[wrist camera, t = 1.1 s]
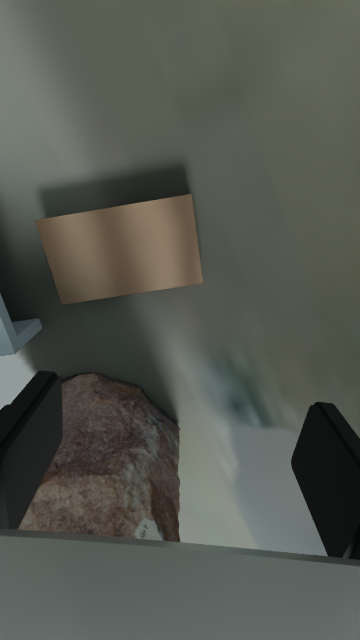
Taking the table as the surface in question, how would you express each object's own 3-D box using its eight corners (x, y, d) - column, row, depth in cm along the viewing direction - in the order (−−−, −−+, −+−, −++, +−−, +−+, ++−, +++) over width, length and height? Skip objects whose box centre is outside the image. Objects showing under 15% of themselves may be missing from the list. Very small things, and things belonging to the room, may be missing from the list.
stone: (193, 397, 37) (209, 601, 18) (165, 459, 40) (154, 682, 22) (41, 352, 34) (-122, 534, 16) (26, 422, 38) (-121, 638, 19)
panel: (190, 194, 29) (191, 193, 26) (200, 276, 32) (203, 283, 29) (48, 218, 29) (34, 220, 27) (71, 295, 32) (61, 304, 29)
